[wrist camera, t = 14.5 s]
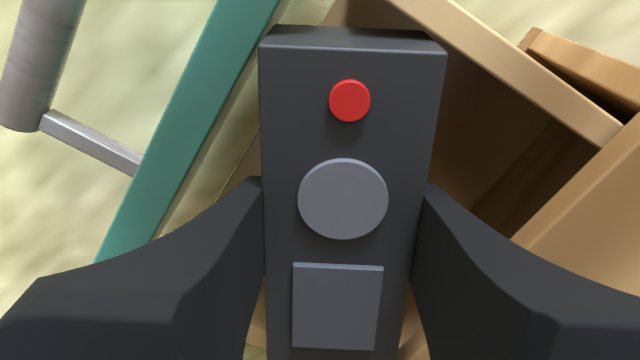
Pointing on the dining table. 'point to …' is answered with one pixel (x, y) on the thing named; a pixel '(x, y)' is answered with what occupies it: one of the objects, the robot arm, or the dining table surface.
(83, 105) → the dining table surface
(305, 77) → the remote
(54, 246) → the dining table surface
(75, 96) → the dining table surface
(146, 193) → the drawer
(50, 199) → the dining table surface
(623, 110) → the cabinet
